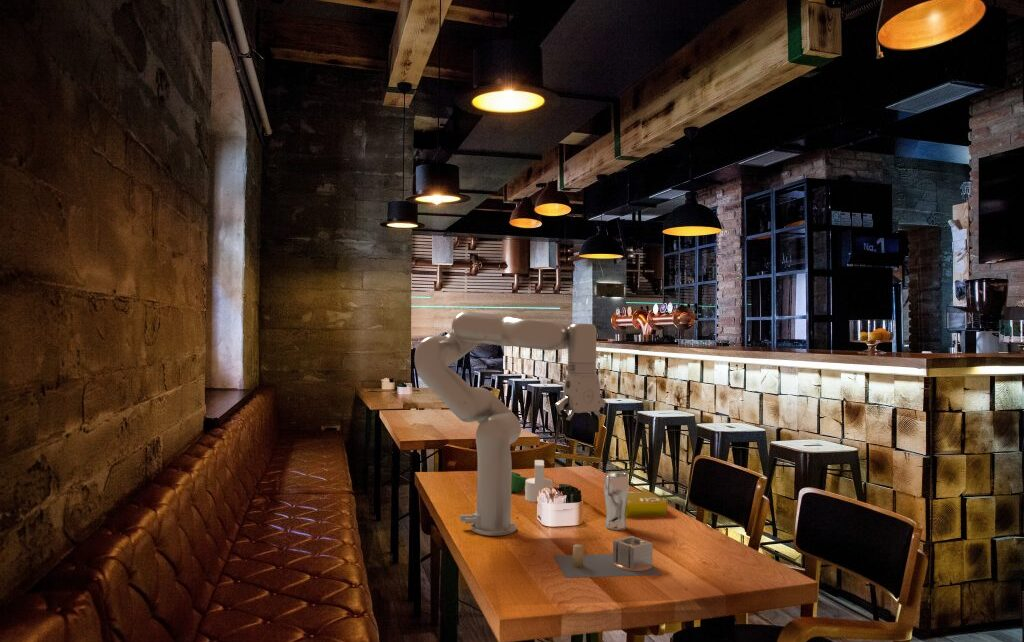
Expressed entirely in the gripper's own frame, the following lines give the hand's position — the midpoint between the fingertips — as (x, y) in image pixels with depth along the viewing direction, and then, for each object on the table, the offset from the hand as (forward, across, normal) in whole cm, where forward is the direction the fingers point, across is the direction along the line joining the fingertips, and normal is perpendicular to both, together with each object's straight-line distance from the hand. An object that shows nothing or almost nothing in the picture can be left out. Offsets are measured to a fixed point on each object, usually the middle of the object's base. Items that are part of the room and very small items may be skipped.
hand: (580, 433), depth 172 cm
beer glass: (+28, +16, +2) cm, 33 cm away
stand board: (+28, -11, -20) cm, 36 cm away
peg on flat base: (+27, -5, -24) cm, 36 cm away
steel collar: (+27, -5, -24) cm, 36 cm away
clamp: (+29, +18, +53) cm, 63 cm away
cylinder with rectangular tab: (+29, +18, +38) cm, 51 cm away
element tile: (+29, +35, +11) cm, 47 cm away
